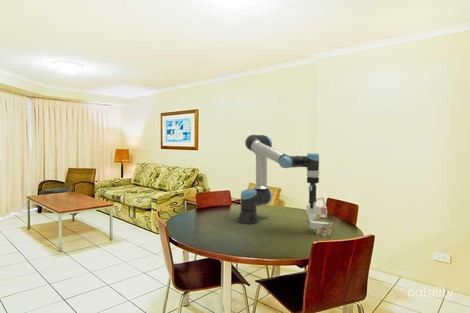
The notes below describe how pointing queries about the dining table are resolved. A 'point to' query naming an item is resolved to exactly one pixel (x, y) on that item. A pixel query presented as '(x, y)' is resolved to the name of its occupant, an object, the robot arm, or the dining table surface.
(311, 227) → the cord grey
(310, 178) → the robot arm
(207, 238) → the dining table surface
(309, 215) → the headset
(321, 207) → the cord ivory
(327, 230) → the comb rack
